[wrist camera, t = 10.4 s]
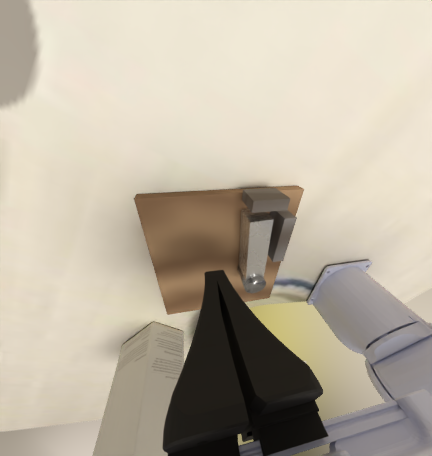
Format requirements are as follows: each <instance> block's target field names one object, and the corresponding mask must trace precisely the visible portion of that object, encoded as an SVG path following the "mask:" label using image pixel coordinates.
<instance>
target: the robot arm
mask: <svg viewBox="0 0 432 456" xmlns="http://www.w3.org/2000/svg"><path fill="white" fill-rule="evenodd" d="M371 264H372V262H371V261H370V260H366V261H359V262H352V263H345V264H338V265H331V266H327V267H326V268H325V269H324V271H323V273H322V275H321V277H320V279H319V280H318V282H317V284H316V286H315V288H314V290H313V291H312V293H311V295H310V297H309V299H308V301H307V303H308V304H309V305H310V304H313V305H314V306H315V308H316V309H317V311H318V312H319V313H320V315H321V316H322V317H323V319H324V320H325V322H326V323H327V324H328V326H329V327H330V329H331V330H332V331H333V333H334V334H335V336H336V337H337V338H338V339H339V340H340V341H341V342H342V343H343V344H344V345H345V346H346V347H348V348H349V349H351V350H352V351H354V352H357V353H360V354H363V355H364V356H365V357H366V358H367V359H366V361H365V365H366V368H367V373H368V375H369V378H370V380H371V382H372V383H373V385H374V387H375V388H376V390H377V391H378V393H379V394H380V396H381V397H382V398H383V399H384V401H385V403H382V404H379V405H375V406H372V407H369V408H365V409H362V410H359V411H356V412H352V413H348V414H345V415H341V416H338V417H335V418H331V419H328V420H324V421H321V419H320V417H319V415H318V411H319V409H318V407H317V404H316V402H315V400H316V399H317V398H318V397H320V396H321V395H322V394H323V389H322V387H321V385H320V383H319V382H318V380H317V378H316V377H315V375H314V373H313V372H312V370H311V369H310V367H309V366H308V365H307V364H306V363H305V362H303V361H302V360H301V359H300V358H299V357H297V356H296V355H295V354H294V353H293V352H292V351H290V350H289V349H288V348H287V347H286V346H285V345H284V344H283V343H282V342H280V341H279V340H278V339H277V338H276V337H275V336H274V335H273V334H272V333H271V332H270V331H269V330H268V329H267V328H266V327H265V326H264V325H263V324H262V323H261V322H260V320H258V318H257V317H256V316H255V315H254V314H253V313H252V311H251V310H250V309H249V308H248V306H247V305H246V304H245V303H244V301H243V300H242V299H241V297H240V296H239V294H238V293H237V292H236V290H235V289H234V287H233V286H232V284H231V282H230V281H229V279H228V277H227V276H226V274H225V272H224V270H216V271H208V272H205V273H204V275H205V287H204V295H203V302H202V306H201V311H200V316H199V320H198V323H197V327H196V331H195V334H194V337H193V340H192V343H191V347H190V349H189V352H188V355H187V358H186V361H185V363H184V366H183V369H182V371H181V374H180V376H179V379H178V381H177V384H176V386H175V389H174V391H173V394H172V397H171V401H170V404H169V408H168V411H167V415H166V419H165V424H164V430H163V450H164V452H166V453H168V456H291V455H294V454H297V453H299V452H303V451H306V450H309V449H312V448H315V447H319V446H322V445H325V444H328V443H330V452H329V453H327V454H323V455H319V456H432V324H431V323H427V322H425V321H424V320H423V319H422V318H420V317H419V316H418V315H417V314H415V313H414V312H413V311H412V310H411V309H409V308H408V307H407V306H406V305H405V304H403V303H402V302H401V301H400V300H398V299H397V298H396V297H395V296H393V295H392V294H391V293H390V292H389V291H387V290H386V289H385V288H384V287H382V286H381V285H380V284H379V283H378V282H376V281H375V280H374V279H373V278H371V277H370V276H369V275H368V274H367V273H365V272H366V271H367V269H368V268H369V267H370V265H371ZM238 434H241V435H242V440H243V442H245V441H248V440H252V439H253V440H254V441H253V442H250V443H247V444H243V445H240V446H238V436H237V435H238Z"/></svg>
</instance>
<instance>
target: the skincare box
mask: <svg viewBox="0 0 432 456" xmlns="http://www.w3.org/2000/svg"><path fill="white" fill-rule="evenodd" d="M183 366H184V351H183V331H181V330H178V329H175V328H172V327H169V326H166V325H163V324H160V323H157V322H152V323H151V324H150V325H148V326H147V327H146V328H144V329H143V330H142V331H140V332H139V333H138V334H137V335H135V336H134V337H133V338H131V339H130V340H129V341H127V342H126V343H125V344H123V345H122V349H121V352H120V356H119V360H118V364H117V367H116V371H115V375H114V378H113V382H112V386H111V390H110V393H109V397H108V401H107V404H106V408H105V412H104V415H103V419H102V423H101V427H100V430H99V434H98V438H97V441H96V445H95V449H94V452H93V456H168V453H166V452H164V450H163V430H164V424H165V419H166V415H167V411H168V408H169V404H170V401H171V397H172V394H173V391H174V389H175V386H176V384H177V381H178V379H179V376H180V374H181V371H182V369H183Z"/></svg>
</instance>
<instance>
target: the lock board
mask: <svg viewBox="0 0 432 456" xmlns="http://www.w3.org/2000/svg"><path fill="white" fill-rule="evenodd" d="M303 191H304V189H303V188H301V187H299V186H284V187H266V188H247V189H228V190H209V191H190V192H171V193H152V194H137V195H136V197H135V198H134V200H135V204H136V207H137V211H138V214H139V217H140V221H141V224H142V228H143V231H144V235H145V238H146V242H147V245H148V249H149V252H150V256H151V259H152V263H153V266H154V270H155V273H156V277H157V280H158V284H159V287H160V291H161V294H162V298H163V301H164V305H165V308H166V311H167V315H169V314H175V313H181V312H187V311H193V310H199V309H201V306H202V302H203V295H204V287H205V275H204V273H205V272H208V271H216V270H224V272H225V274H226V276H227V277H228V279H229V281H230V282H231V284H232V286H233V287H234V289H235V290H236V292H237V293H238V294H239V296H240V297H241V299H242V300H243V301H244V302H247V301H253V300H259V299H265V298H269V297H270V294H271V291H272V288H273V285H274V282H275V278H276V275H277V272H278V269H279V266H280V263H281V261H283V259H284V255H285V252H286V249H287V246H288V243H289V240H290V237H291V234H292V231H293V228H294V225H295V222H296V219H297V217H295V216H296V213H297V210H298V207H299V203H300V200H301V197H302V194H303ZM241 209H249V210H250V211H251V212H252V213H257V212H267V213H268V214H269V215H270V216H271V217H272V218H273V219H274V220H273V226H272V232H271V237H270V243H269V249H268V255H267V261H266V267H265V273H264V279H265V281H266V286H265V287H264V289H262V290H261V291H259V292H257V293H247V292H246V291H245V289H244V286H243V284H242V281H241V278H240V276H239V273H238V270H237V267H238V265H239V254H240V227H241Z"/></svg>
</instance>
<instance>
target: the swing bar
mask: <svg viewBox="0 0 432 456" xmlns="http://www.w3.org/2000/svg"><path fill="white" fill-rule="evenodd" d="M273 220H274V219H273V218H272V217H271V216H270V215H269V214H268V213H267V212H257V213H252V212H251V211H250V210H249V209H241V227H240V254H239V265H238V267H237V270H238V273H239V276H240V278H241V281H242V284H243V286H244V289H245V291H246V292H247V293H257V292H259V291H261V290H262V289H264V287H265V286H266V281H265V279H264V273H265V267H266V261H267V255H268V249H269V243H270V237H271V232H272V226H273Z"/></svg>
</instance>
